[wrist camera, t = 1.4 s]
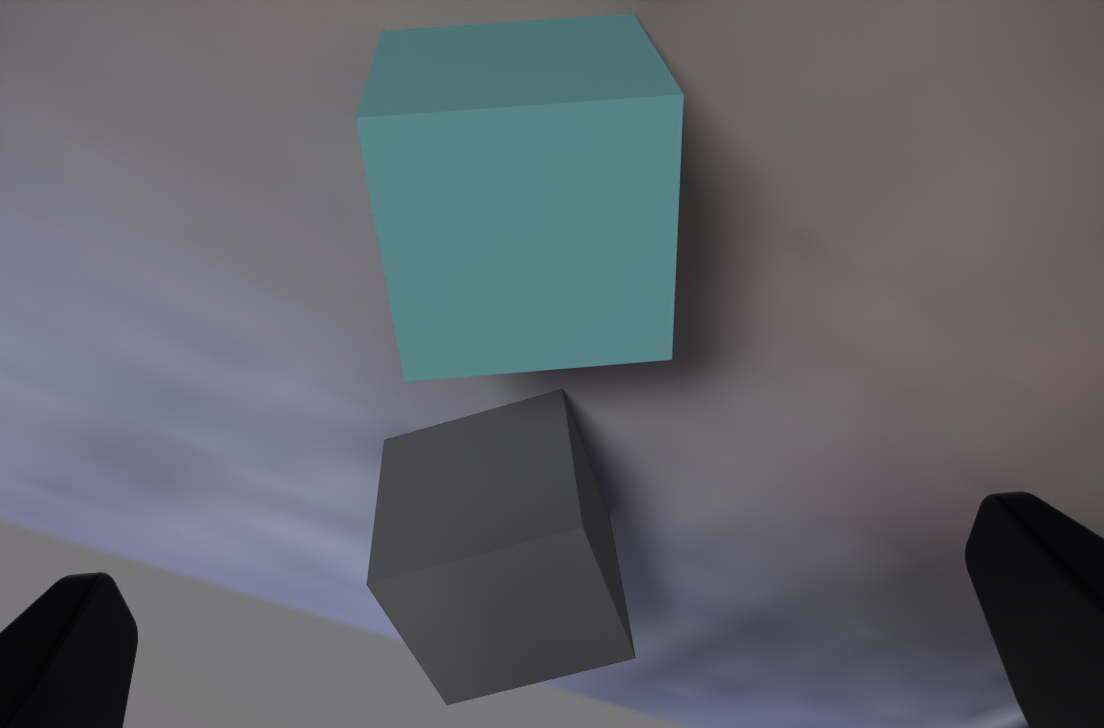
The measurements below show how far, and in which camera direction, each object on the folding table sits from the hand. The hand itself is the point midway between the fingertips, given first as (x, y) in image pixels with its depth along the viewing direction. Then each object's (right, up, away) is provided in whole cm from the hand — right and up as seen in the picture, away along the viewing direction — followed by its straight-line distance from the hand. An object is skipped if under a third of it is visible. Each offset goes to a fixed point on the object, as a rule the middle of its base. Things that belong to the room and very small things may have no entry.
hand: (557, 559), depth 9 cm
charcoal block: (-1, -1, +15) cm, 15 cm away
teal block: (-1, +7, +10) cm, 12 cm away
